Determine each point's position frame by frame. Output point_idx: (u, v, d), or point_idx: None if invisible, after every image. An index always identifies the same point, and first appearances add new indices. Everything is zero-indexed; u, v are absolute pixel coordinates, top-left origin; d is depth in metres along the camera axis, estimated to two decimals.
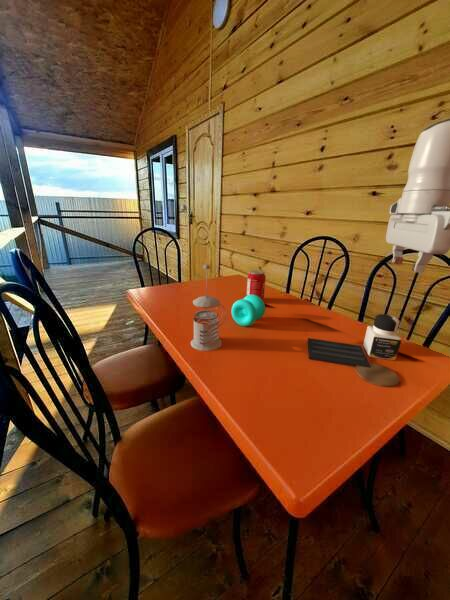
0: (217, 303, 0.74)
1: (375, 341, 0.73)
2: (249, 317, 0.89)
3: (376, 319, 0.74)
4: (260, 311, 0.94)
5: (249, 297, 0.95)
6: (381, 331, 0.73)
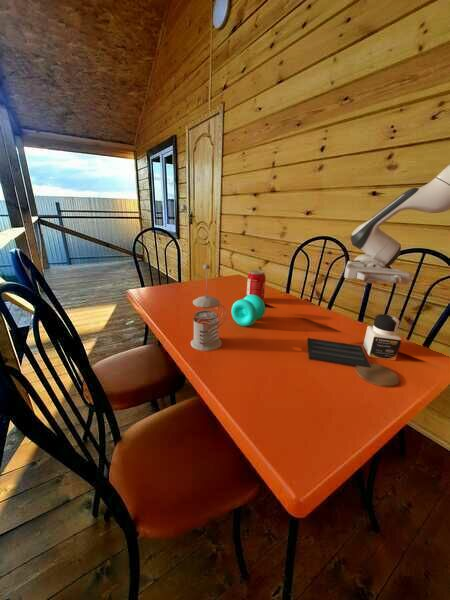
0: (217, 303, 0.74)
1: (375, 341, 0.73)
2: (249, 317, 0.89)
3: (376, 319, 0.74)
4: (260, 311, 0.94)
5: (249, 297, 0.95)
6: (381, 331, 0.73)
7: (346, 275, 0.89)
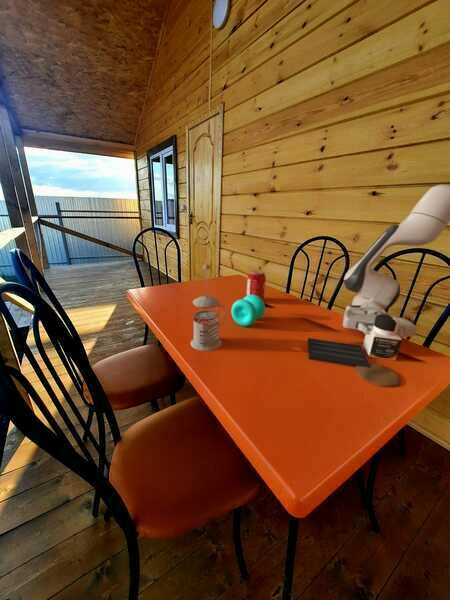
0: (217, 303, 0.74)
1: (375, 340, 0.73)
2: (249, 317, 0.89)
3: (376, 319, 0.74)
4: (260, 311, 0.94)
5: (249, 297, 0.95)
6: (381, 331, 0.73)
7: (345, 324, 0.82)
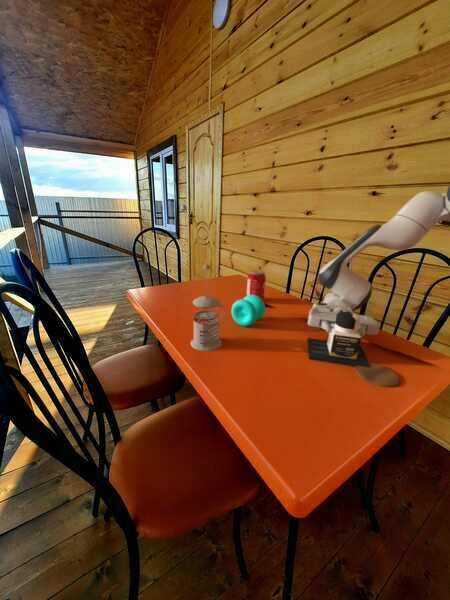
0: (217, 303, 0.74)
1: (335, 339, 0.71)
2: (249, 317, 0.89)
3: (337, 316, 0.72)
4: (260, 311, 0.94)
5: (249, 297, 0.95)
6: (341, 329, 0.71)
7: (309, 322, 0.80)
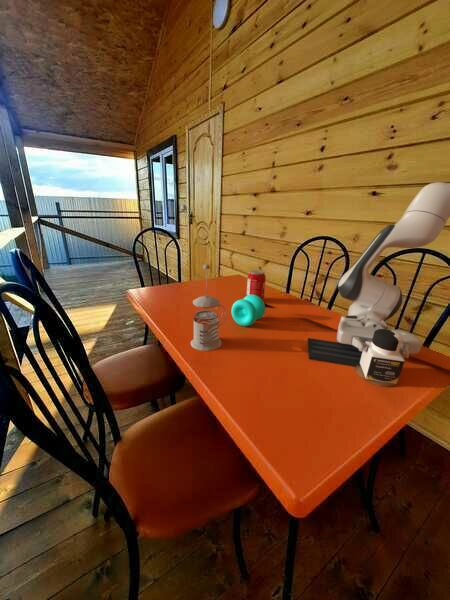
0: (217, 303, 0.74)
1: (373, 361, 0.62)
2: (249, 317, 0.89)
3: (375, 335, 0.62)
4: (260, 311, 0.94)
5: (249, 297, 0.95)
6: (380, 350, 0.61)
7: (339, 339, 0.71)
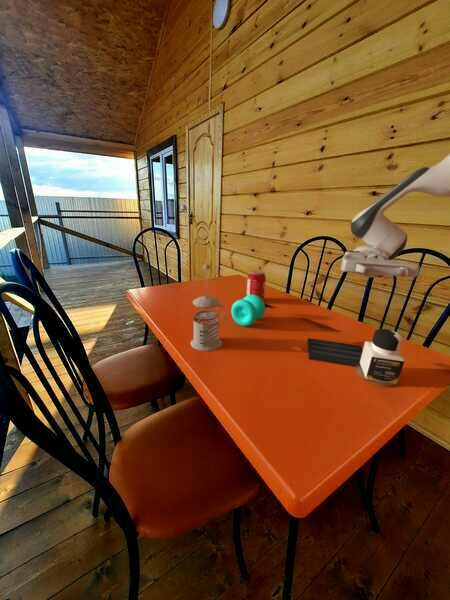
0: (217, 303, 0.74)
1: (373, 361, 0.62)
2: (249, 317, 0.89)
3: (375, 335, 0.62)
4: (260, 311, 0.94)
5: (249, 297, 0.95)
6: (380, 350, 0.61)
7: (343, 267, 0.77)
